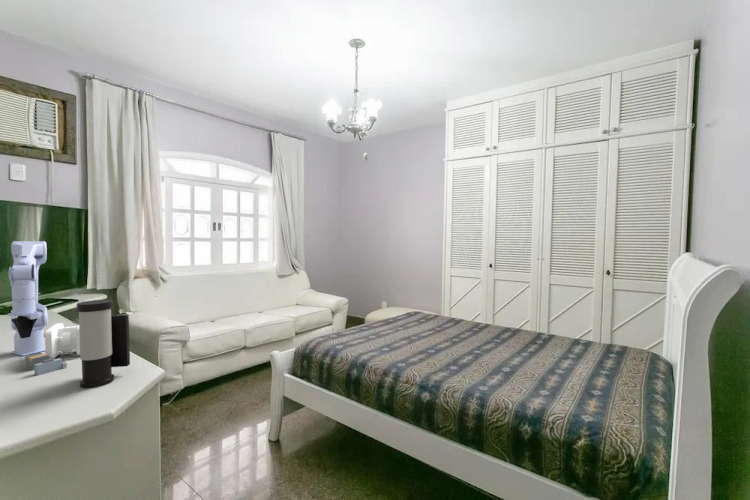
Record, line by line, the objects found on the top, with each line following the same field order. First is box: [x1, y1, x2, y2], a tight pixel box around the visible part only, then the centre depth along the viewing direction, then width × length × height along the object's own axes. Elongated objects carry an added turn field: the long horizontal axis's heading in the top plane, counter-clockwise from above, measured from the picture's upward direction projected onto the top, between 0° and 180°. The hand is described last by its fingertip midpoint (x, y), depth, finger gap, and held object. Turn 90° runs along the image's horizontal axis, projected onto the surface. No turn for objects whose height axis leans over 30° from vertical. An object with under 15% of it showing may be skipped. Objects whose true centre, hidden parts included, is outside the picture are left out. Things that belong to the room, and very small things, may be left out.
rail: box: [62, 361, 68, 369], centre depth 121 cm, size 18×1×2 cm, turn 65°
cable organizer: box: [44, 322, 80, 359], centre depth 131 cm, size 15×11×12 cm
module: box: [24, 352, 49, 371], centre depth 119 cm, size 6×4×4 cm
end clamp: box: [33, 357, 63, 376], centre depth 115 cm, size 2×6×4 cm, turn 155°
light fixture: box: [76, 299, 131, 389], centre depth 106 cm, size 12×11×25 cm
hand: (25, 337), depth 122 cm, fingers closed
